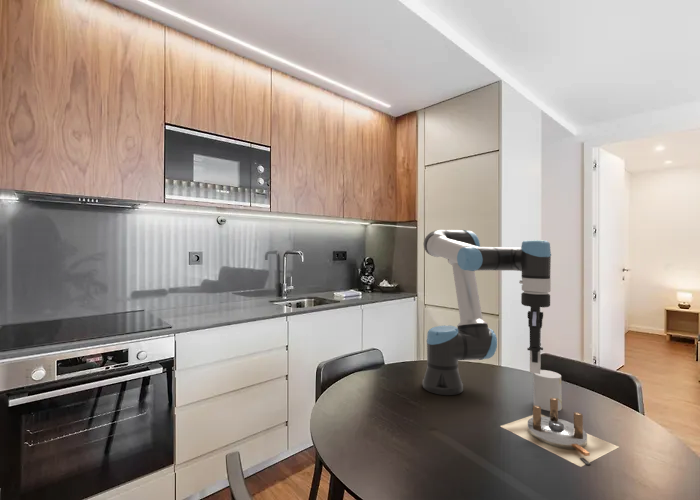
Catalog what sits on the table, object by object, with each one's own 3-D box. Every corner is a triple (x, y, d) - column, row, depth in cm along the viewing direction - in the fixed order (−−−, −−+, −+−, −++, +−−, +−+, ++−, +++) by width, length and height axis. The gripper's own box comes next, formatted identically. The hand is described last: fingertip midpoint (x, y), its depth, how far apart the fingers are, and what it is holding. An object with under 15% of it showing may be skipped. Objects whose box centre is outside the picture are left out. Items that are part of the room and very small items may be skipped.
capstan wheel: (559, 459, 82) (559, 427, 83) (517, 423, 101) (517, 396, 101) (614, 457, 83) (614, 425, 84) (562, 421, 102) (562, 395, 102)
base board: (499, 431, 99) (499, 425, 99) (538, 417, 108) (538, 412, 108) (583, 474, 79) (583, 467, 80) (622, 454, 88) (622, 447, 88)
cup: (566, 417, 109) (565, 379, 109) (538, 414, 110) (537, 377, 111) (556, 406, 117) (555, 370, 117) (530, 404, 118) (529, 369, 119)
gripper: (523, 289, 108) (522, 363, 108) (519, 293, 97) (518, 376, 97) (550, 291, 104) (550, 368, 104) (549, 295, 93) (549, 382, 93)
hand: (535, 372), depth 101 cm, fingers closed
